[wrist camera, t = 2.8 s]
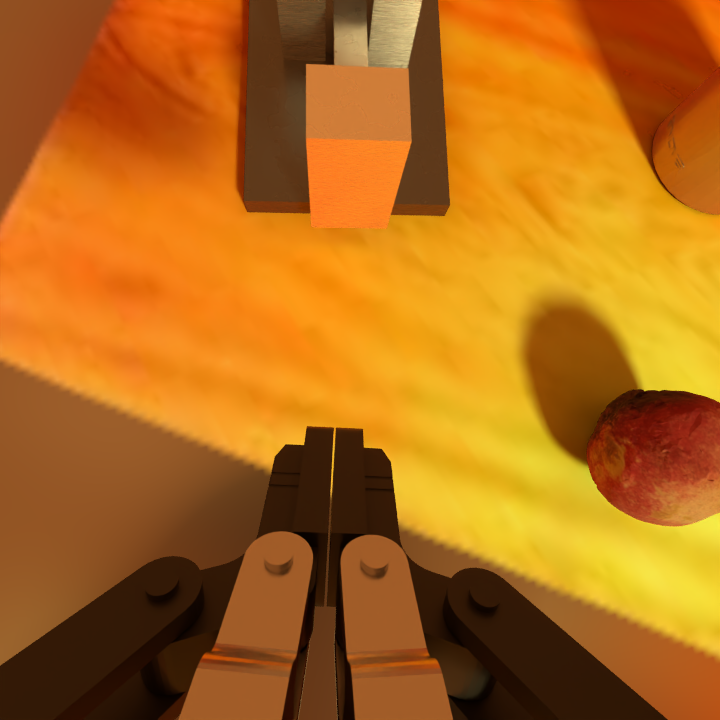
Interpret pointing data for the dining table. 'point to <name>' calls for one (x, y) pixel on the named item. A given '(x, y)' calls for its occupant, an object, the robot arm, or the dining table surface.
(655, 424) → the fruit
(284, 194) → the shaft housing
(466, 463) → the dining table surface
